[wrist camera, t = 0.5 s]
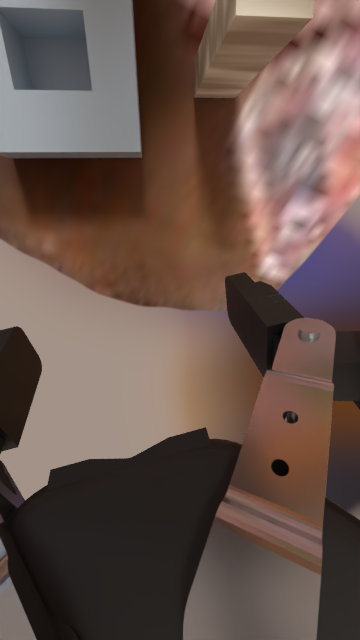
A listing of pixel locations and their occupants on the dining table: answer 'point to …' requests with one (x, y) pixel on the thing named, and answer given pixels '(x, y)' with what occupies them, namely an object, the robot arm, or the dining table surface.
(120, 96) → the grey square socket block
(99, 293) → the dining table surface
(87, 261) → the dining table surface
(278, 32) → the wooden bar
